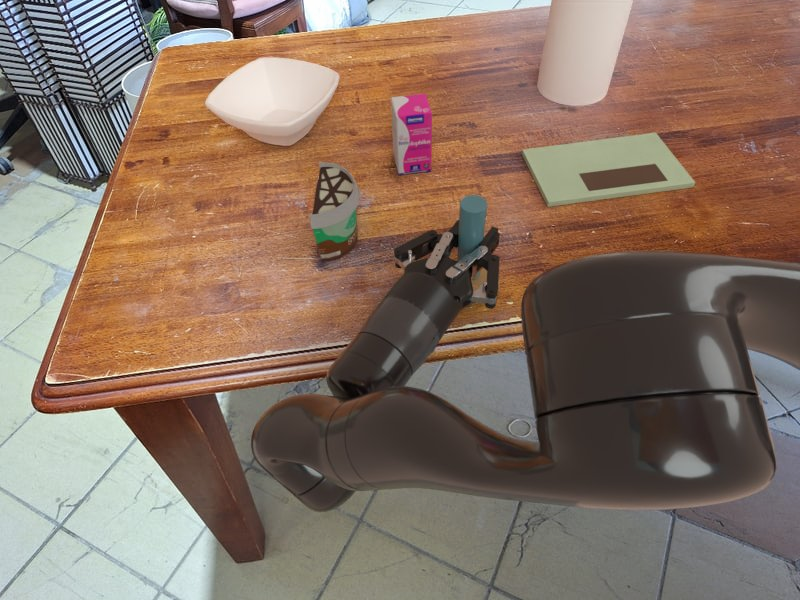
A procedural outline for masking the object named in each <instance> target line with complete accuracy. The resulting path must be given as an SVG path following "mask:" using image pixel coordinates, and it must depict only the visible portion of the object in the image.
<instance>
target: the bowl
mask: <svg viewBox="0 0 800 600" xmlns="http://www.w3.org/2000/svg"><path fill="white" fill-rule="evenodd" d="M339 83H340V74H339V73H338V72H336V71H335V70H333V69H331V68H329V67H327V66H324V65H321V64H317V63H313V62H309V61H306V60H301V59H293V58H288V57H287V58H286V57H277V56H275V57H274V56H272V57H271V56H270V57H269V56H267V57H259V58H256V59H254V60H252V61H250V62H248V63H246V64H244V65H243V66H241V67H239V68H237V69H236V70H235V71H234V72H231V74H229V75H228V76H226V77H225V78H223V80H221V82H219V83H218V84H217V85H216V87H214V89H212V91H211V92H210V93H209V94H208V96H207V97H206V100H205V102H204V105H205V107H206V108H207V109H208V110H209V111H210V112H212V113H213V114H215V115H216V117H218V118H219V119H221V120H222V121H223V122H225V123H226V124H228V125H230V126H231V127H234V128H236V129H239V130H242V131H243V132H244V133H245V134H247V135H248V136H249V137H250V138H252V139H254V140H257V141H259V142H261V143H264V144H268V145H273V146H284V147H290V146H292V145H294V144H296V143H298V141H300V140H302V139H304V137H305V136H307V135H308V134H309V132H310V131H311V130H312V128H313V127H314V125H315V124H316V123H317V121H318V118H319V117H320V116H321V115H322V113H323V112H324V111H325V110H326V109H327V107H328V105H329V104H330V102H331V100H332V99H333V96H334V94H335V92H336V90H337V88H338V85H339Z"/></svg>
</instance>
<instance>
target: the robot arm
mask: <svg viewBox="0 0 800 600" xmlns="http://www.w3.org/2000/svg"><path fill="white" fill-rule="evenodd" d="M458 232H459V219H457V220H456V221H455V222H454V224H453V225H452V226H451V228H449V230H448V231H445V232H444V233H442V234H440V233H438V231H436V230H435V229H430V230H428V231H426V232H424V233H422V234H420V235H418V236H416V237H414V238H412V239H410V240H407V241H406V242H404V243H401V244H400V245H399V246H397V247H395V248H393V260H394V261H393V262H394V267H395V268H396V269H402V270H403V274H402V275H401V276H400V277H399V279H397V281H396V282H395V283H394V285H392V287H391V288H390V289H389V290H388V292H387V293H386V294H385V295H384V296H383V298H382V299H381V300H380V301H379V303H378V304H377V305H376V306H375V308H373V309H372V311H371V312H370V313H369V315H368V316H367V317H366V319H365V320H364V322H363V323H362V325H361V327H360V329H359V330H358V332H357V333H356V334H355V335H354V336H353V338H352V339H350V342H349V343H348V344H347V345H346V346H345V348H344V349H343V350H342V351H341V353H340V354H339V355H338V356H337V357H336V359H335V360H334V361H333V362H332V363H331V365H330V366H329V368H328V369H327V372H326V375H325V379H326V384H327V387H328V389H329V391H330V392H331V394H332V395H326V394H320V393H319V394H318V393H301V394H294V395H292V396H289V397H286V398H284V399H281V400H279V401H278V402H276V403H274V404H273V405H271V406H270V407H268V408H267V410H265V411H264V412H263V413H262V415H261V416H260V417H259V418H258V420H257V421H256V423H255V425H254V427H253V430H252V433H251V437H250V448H251V453H252V456H253V458H254V460H255V462H256V463H257V464H258V465H259V467H260V468H262V470H264V471H265V472H266V473H267V474H268V475H270V476H271V477H272V478H273V479H274V480H275V481H276V482H277V483H279V484H280V485H281V486H282V487H283V488H284V489H286V490H287V491H288V492H289V493H290V494H291V495H293V497H295V498H296V499H297V500H298V501H299V502H300V503H301V504H303V505H304V506H305V507H306V508H308V509H309V510H311V511H313V512H315V513H316V512H317V513H327V512H330V511H334V510H336V509H337V508H340V507H341V506H343V505H344V504H345V503H346V502H348V501H349V500H350V499H351V498H352V496H353V495H355V493H356V492H367V491H384V490H399V489H400V490H401V489H423V490H431V491H432V490H434V491H440V492H447V493H453V494H460V495H466V496H472V497H480V498H487V499H495V500H496V499H497V500H503V501H514V502H522V503H531V504H532V503H533V504H541V505H551V506H559V507H560V506H562V507H572V508H581V509H582V508H583V509H593V510H609V511H610V510H611V511H668V510H669V511H670V510H679V509H690V508H701V507H708V506H715V505H722V504H727V503H730V502H735V501H739V500H742V499H744V498H745V499H746V498H747V497H750V496H753V495H755V494H757V493H758V492H759V493H760V492H761V491H763V490H764V489H765V488H766V487H767V486H768V485H770V484H771V482H772V480H773V479H774V477H775V475H776V472H777V457H776V450H775V444H774V440H773V437H772V432H771V428H770V425H769V422H768V418H767V413H766V410H765V405H764V403H763V399H762V398H761V397H760V394H761V393H760V392H761V391H760V388H759V385H758V382H757V378H756V374H755V371H754V368H753V365H752V362H751V361H752V360H751V358H750V354H749V351H752V352H755V353H758V354H761V355H766V356H768V357H770V358H774V359H776V360H779V361H781V362H783V363H785V364H787V365H789V366H790V367H792V368H794V369H796V370H798V371H800V263H799V262H791V261H790V262H789V261H781V260H772V259H763V258H755V257H753V258H752V257H745V256H737V255H728V254H718V253H716V254H715V253H706V252H697V251H695V252H694V251H683V250H666V249H665V250H664V249H663V250H662V249H661V250H627V251H626V250H625V251H616V252H607V253H600V254H593V255H588V256H584V257H580V258H574V259H572V260H569V261H566V262H563V263H561V264H558V265H554V266H552V267H550V268H548V269H546V270H545V271H544V272H541V273H540V274H539V275H537V276H536V277H535V278H533V279H532V281H530V283H529V284H528V285H527V286H526V288H525V290H524V292H523V294H522V298H521V304H520V305H521V309H520V310H521V311H520V313H521V314H520V315H521V317H520V318H521V329H522V338H523V346H524V353H525V357H526V359H525V360H526V367H527V372H528V381H529V388H530V395H531V402H532V408H533V415H534V419H535V421H534V425H535V429H536V435H537V440H538V441H533V440H532V441H531V440H525V439H519V438H515V437H513V436H510V435H507V434H504V433H502V432H500V431H498V430H496V429H494V428H492V427H489V426H488V425H486V424H484V423H482V422H480V420H477V419H476V418H474V417H473V416H471V415H470V414H468V413H466V412H465V411H464V410H462V409H460V408H459V407H457V406H456V405H454V404H453V403H452V402H449V401H448V400H447V399H444V398H443V397H441V396H439V395H437V394H435V393H432V392H430V391H428V390H425V389H422V388H419V387H412V386H406V385H407V384H408V382H409V381H410V379H411V378H412V377H413V375H414V374H415V373H416V372H417V371H418V370H419V369H420V368H421V367H422V366H423V365H424V363H425V362H426V360H428V358H429V357H430V355H431V354H433V353H434V352H435V350H436V348H437V345H438V344H439V342H440V341H441V339H442V338H443V337H444V335H445V334H446V333H447V331H448V329H449V328H450V327H451V325H452V324H453V323H454V321H455V320H456V318H457V317H458V315H459V314H460V312H461V311H462V310H463V309H464V308H467V307H468V306H470V305H471V304H473V303H472V302H475V303H480V304H484V306H485V308H487V309H490V310H491V309H492V310H493V309H495V308H496V306H497V299H498V294H499V290H498V282H499V280H500V262H501V261H500V259H501V258H500V257H499V255H497V254H494V252H495V251H496V250H497V248H498V246H500V245H499V244H500V239H501V238H500V237H501V233H500V232H499V228H498V227H496V226H493V225H492V226H491V227H490V229H489V230H488V231H487V233H486V234H484V238H483V240H482V241H481V242H480V243H479V247H478V248H477V249H476V250H474V251H473V252H472V253H471V254H467V255H466V256H465V257H463V258H462V259H461V260H460V261H457V259H452V258H451V255H452V253H453V249H458ZM428 255H430V256H428ZM426 256H427V257H426ZM483 268H484V269H485V270H487V282H483V284H481V285H480V286H479V288H478V289H477V290H473V287H472V282H471V281H472V280H474V278H475V277H476V274H477V273H478V272H479V271H480V270H481V269H483Z"/></svg>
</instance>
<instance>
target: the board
mask: <svg viewBox="0 0 800 600" xmlns="http://www.w3.org/2000/svg"><path fill="white" fill-rule="evenodd" d="M521 156H522V158H523V160H524V162H525V164H526V166H527V168H528V170H529V173H530V175H531V176H532V179H533V181H534V183H535V185H536V187H537V189H538V190H539V193H540V194H541V197H542V199H543V200H544V203H545V205H546V207H547V208H549V207H550V208H551V207H558V206H565V205H573V204H581V203H588V202H595V201H602V200H609V199H617V198H623V197H632V196H638V195H647V194H655V193H662V192H670V191H677V190H685V189H692V188H694V187H695V185H696V181H695V180H694V178H693V177H692V176H691V175H690V173H689V172H688V171H687V170H686V169H685V167H684V166H683V165H682V164H681V162H680V161H679V160H678V158H677V157H676V156H675V154H673V152H672V151H671V150H670V149H669V147H668V145H666V143H665V142H664V141H663V140H662V138H661V137H660V136H659V135H658V133H657V132H649V133H641V134H632V135H625V136H618V137H609V138H601V139H594V140H586V141H585V140H584V141H579V142H570V143H563V144H555V145H554V144H553V145H547V146H539V147H538V146H537V147H530V148H524V149H521Z"/></svg>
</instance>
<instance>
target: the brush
mask: <svg viewBox="0 0 800 600" xmlns="http://www.w3.org/2000/svg"><path fill="white" fill-rule="evenodd" d="M487 211H488V202H487V200H486V198H484V197H483V196H481V195H477V194H469V195H466V196H464V197H462V199H461V200H460V201H459V219H458V220H459V232H458V247H457V251H456V260H457V261H460V260H461V259H462V258H463V257H465V256H466V255H467V254H471V253H472V252H473V251H474V250H476V249H477V248H478V247H479V243H480V242H481V241H482V240H483V238H484V237H485V230H486V220H487ZM471 282H472V287H473V290H477V289H478V288H479V286H480V285H481V284H483V282H487V270H485V269H484V268H483V269H481V270H480V271H479V272H478V273H477V274H476V277H475V278H474V280H472V281H471ZM500 287H501V279H499V282H498V291H499V290H500ZM475 303H476V302H472V303H471V304H475Z"/></svg>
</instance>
